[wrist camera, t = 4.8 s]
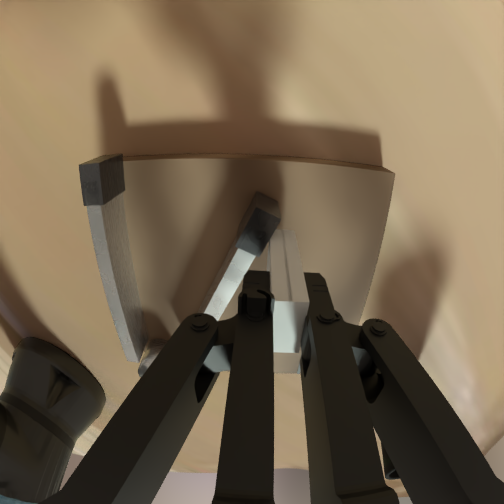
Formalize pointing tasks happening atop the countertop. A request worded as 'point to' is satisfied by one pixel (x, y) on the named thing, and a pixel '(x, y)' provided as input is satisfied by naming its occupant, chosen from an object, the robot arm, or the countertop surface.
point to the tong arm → (242, 252)
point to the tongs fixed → (116, 255)
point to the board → (229, 217)
